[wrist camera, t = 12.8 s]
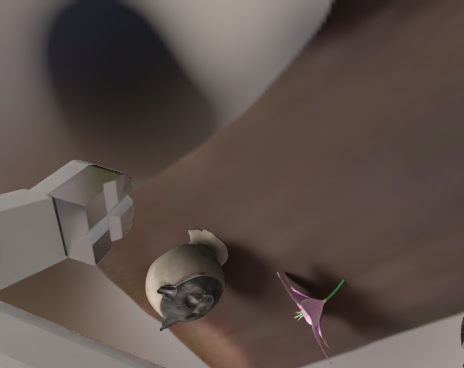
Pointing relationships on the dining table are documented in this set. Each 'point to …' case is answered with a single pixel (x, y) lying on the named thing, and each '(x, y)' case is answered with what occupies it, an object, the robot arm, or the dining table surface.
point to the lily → (310, 309)
